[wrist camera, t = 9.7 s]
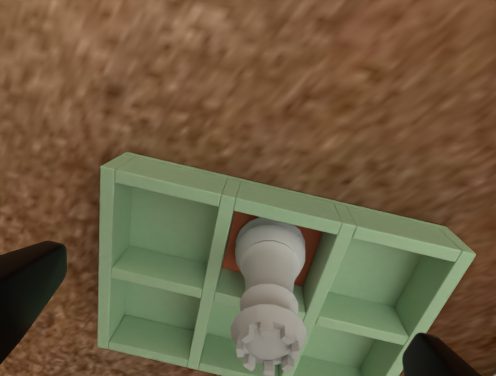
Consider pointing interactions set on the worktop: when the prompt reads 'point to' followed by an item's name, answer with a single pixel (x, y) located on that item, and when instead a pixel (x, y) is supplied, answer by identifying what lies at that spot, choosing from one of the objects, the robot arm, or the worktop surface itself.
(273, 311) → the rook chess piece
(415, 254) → the grid
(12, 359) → the worktop surface
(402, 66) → the worktop surface
